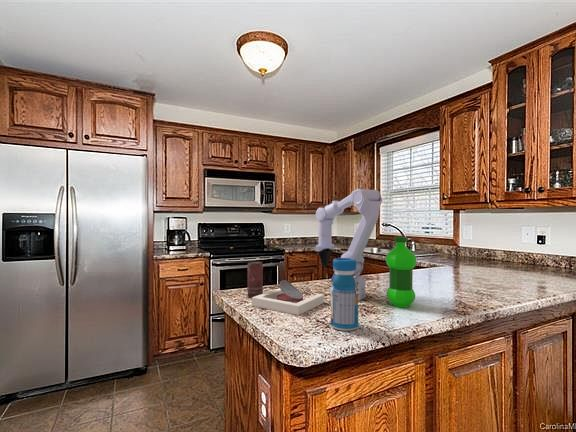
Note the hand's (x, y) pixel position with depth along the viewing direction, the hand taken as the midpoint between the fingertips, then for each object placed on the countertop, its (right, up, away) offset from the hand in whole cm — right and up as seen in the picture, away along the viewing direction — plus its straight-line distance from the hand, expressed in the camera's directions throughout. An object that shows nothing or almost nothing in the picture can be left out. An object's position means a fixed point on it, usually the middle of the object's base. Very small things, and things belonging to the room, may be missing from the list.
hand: (324, 266), depth 141 cm
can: (-29, -11, -12) cm, 33 cm away
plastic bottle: (+25, -11, -24) cm, 36 cm away
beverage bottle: (+1, -11, -46) cm, 47 cm away
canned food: (-15, -11, -22) cm, 29 cm away
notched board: (-16, -11, -22) cm, 29 cm away
